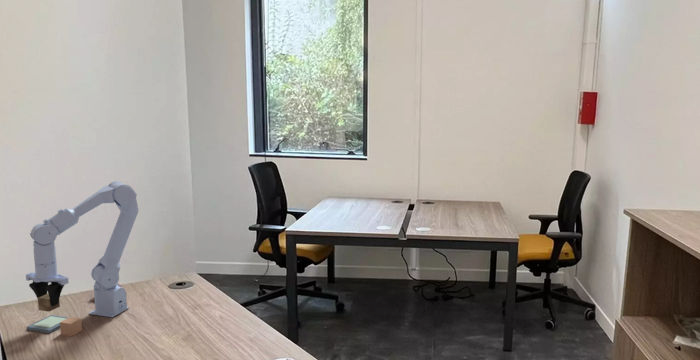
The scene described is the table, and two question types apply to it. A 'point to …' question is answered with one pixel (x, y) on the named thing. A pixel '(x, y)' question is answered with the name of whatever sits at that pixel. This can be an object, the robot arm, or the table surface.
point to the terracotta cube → (70, 326)
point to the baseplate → (47, 324)
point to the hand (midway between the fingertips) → (49, 303)
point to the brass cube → (46, 303)
